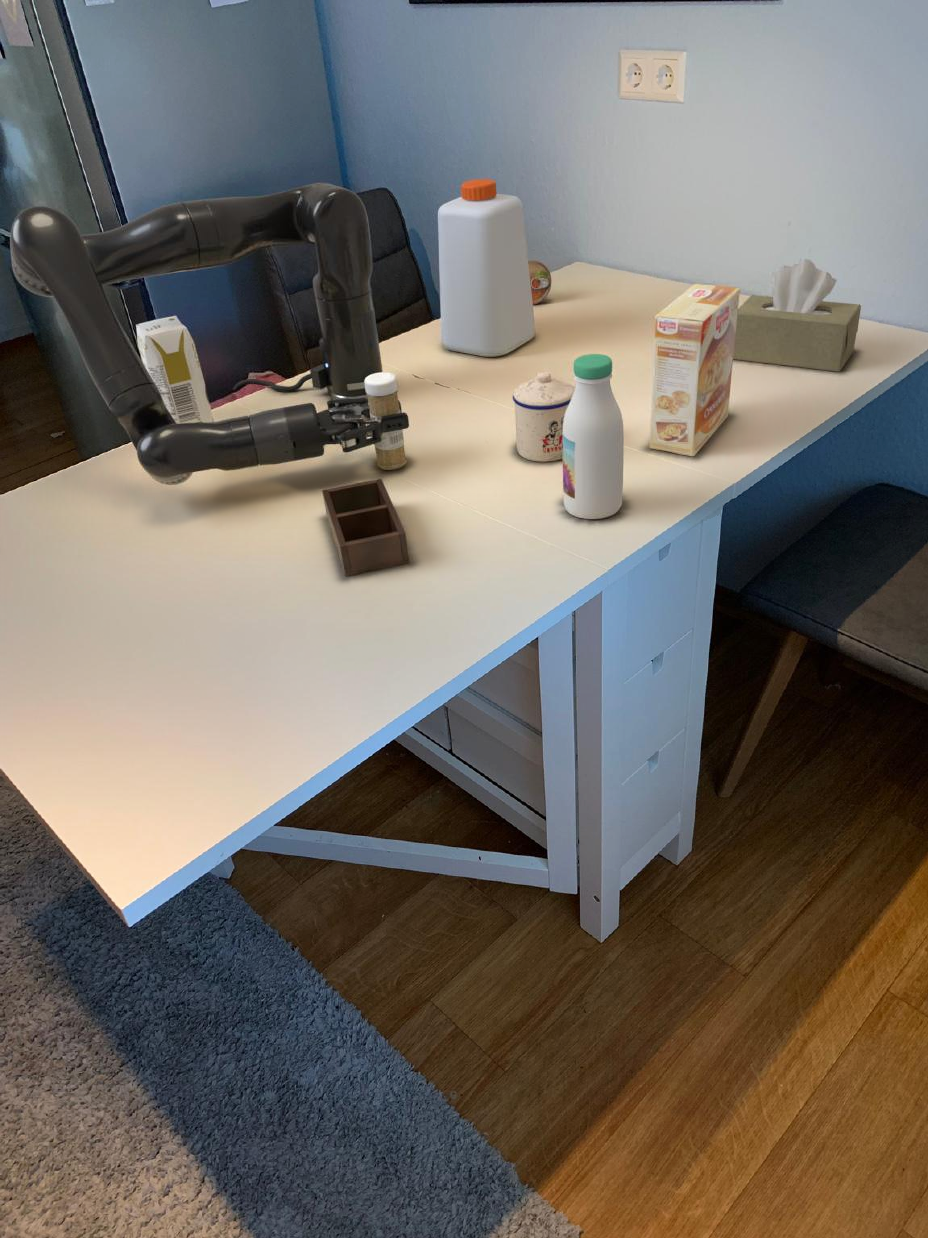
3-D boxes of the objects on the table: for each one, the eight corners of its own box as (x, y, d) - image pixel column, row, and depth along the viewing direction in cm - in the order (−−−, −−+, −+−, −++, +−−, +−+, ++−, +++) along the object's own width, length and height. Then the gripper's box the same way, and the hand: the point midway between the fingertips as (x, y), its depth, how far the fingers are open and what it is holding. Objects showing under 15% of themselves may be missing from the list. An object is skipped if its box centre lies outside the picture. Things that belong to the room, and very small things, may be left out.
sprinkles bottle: (400, 454, 140) (389, 368, 132) (411, 466, 137) (401, 378, 129) (371, 462, 139) (359, 375, 131) (383, 474, 135) (370, 385, 127)
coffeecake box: (694, 457, 132) (704, 320, 120) (647, 449, 135) (652, 314, 124) (730, 416, 142) (742, 286, 130) (685, 409, 145) (693, 281, 134)
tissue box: (855, 351, 158) (871, 255, 149) (841, 372, 152) (857, 273, 142) (745, 339, 167) (754, 247, 157) (727, 358, 160) (736, 264, 151)
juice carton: (175, 457, 146) (141, 338, 134) (163, 438, 152) (129, 323, 141) (222, 445, 148) (192, 326, 137) (208, 426, 154) (179, 312, 143)
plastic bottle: (479, 324, 185) (468, 170, 168) (544, 334, 177) (539, 174, 161) (433, 349, 175) (416, 189, 159) (499, 361, 167) (489, 194, 151)
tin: (479, 306, 194) (476, 264, 189) (481, 301, 196) (478, 260, 191) (551, 304, 191) (550, 262, 186) (552, 299, 194) (551, 257, 189)
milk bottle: (629, 496, 124) (633, 350, 113) (612, 524, 119) (614, 374, 107) (574, 488, 127) (573, 345, 116) (555, 516, 122) (551, 368, 110)
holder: (345, 576, 114) (339, 546, 111) (327, 518, 126) (321, 489, 124) (409, 562, 115) (405, 533, 113) (385, 506, 128) (381, 478, 125)
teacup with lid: (548, 469, 132) (546, 391, 126) (502, 452, 138) (498, 376, 131) (602, 439, 139) (602, 363, 132) (556, 424, 144) (554, 351, 138)
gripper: (285, 439, 139) (397, 418, 142) (296, 480, 127) (418, 457, 130) (275, 391, 134) (391, 371, 137) (286, 429, 123) (412, 407, 126)
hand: (403, 413), depth 134 cm, fingers closed on sprinkles bottle, 4 cm apart
